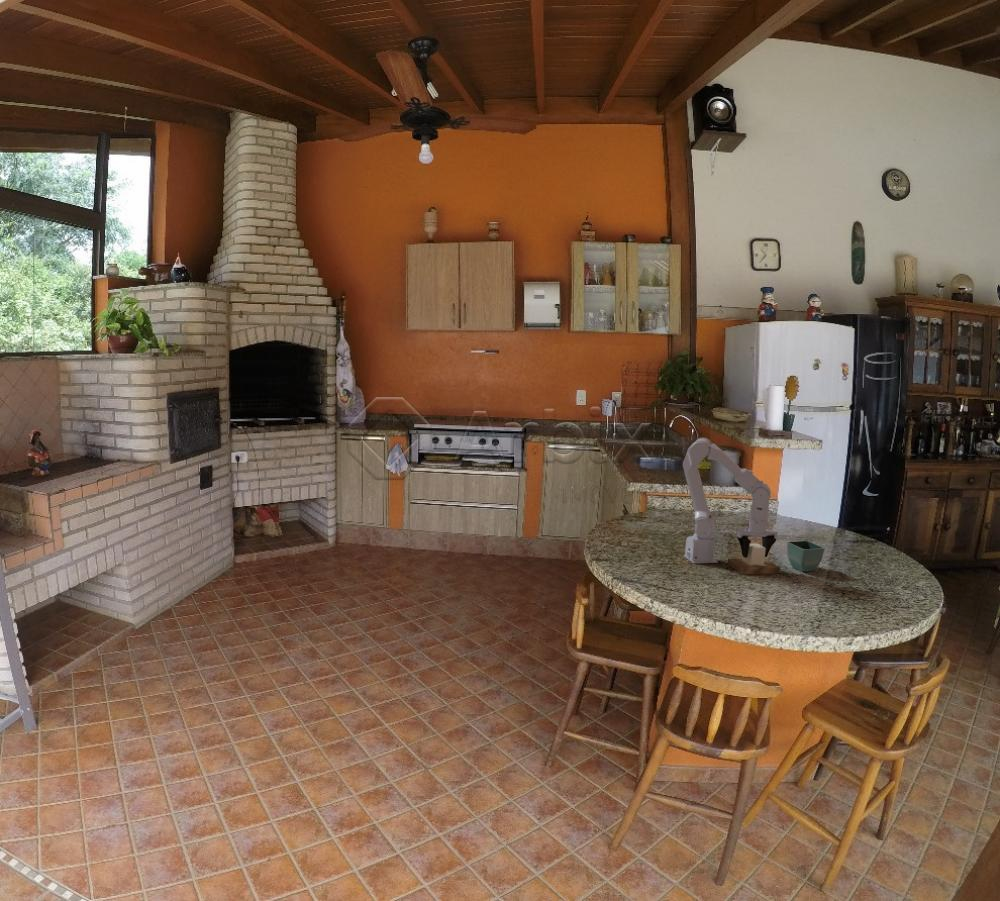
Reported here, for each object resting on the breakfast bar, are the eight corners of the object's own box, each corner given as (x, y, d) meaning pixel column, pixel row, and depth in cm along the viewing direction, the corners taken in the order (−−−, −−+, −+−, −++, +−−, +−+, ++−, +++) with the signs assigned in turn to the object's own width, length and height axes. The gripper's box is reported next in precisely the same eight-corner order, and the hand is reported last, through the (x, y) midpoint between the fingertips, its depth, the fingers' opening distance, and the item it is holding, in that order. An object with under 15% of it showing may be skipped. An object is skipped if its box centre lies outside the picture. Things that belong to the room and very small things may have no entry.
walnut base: (742, 574, 215) (743, 568, 215) (727, 564, 225) (727, 558, 224) (779, 573, 217) (780, 567, 217) (762, 563, 227) (763, 557, 227)
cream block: (750, 564, 218) (752, 548, 217) (742, 559, 223) (744, 543, 222) (763, 564, 219) (765, 548, 218) (755, 559, 224) (757, 543, 223)
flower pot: (801, 574, 217) (804, 549, 215) (783, 565, 225) (786, 541, 224) (822, 572, 219) (825, 548, 218) (804, 564, 228) (807, 540, 226)
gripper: (745, 522, 213) (741, 560, 215) (784, 521, 215) (780, 559, 218) (734, 516, 220) (730, 554, 222) (772, 516, 222) (768, 553, 225)
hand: (754, 556), depth 220 cm, fingers open, 7 cm apart
